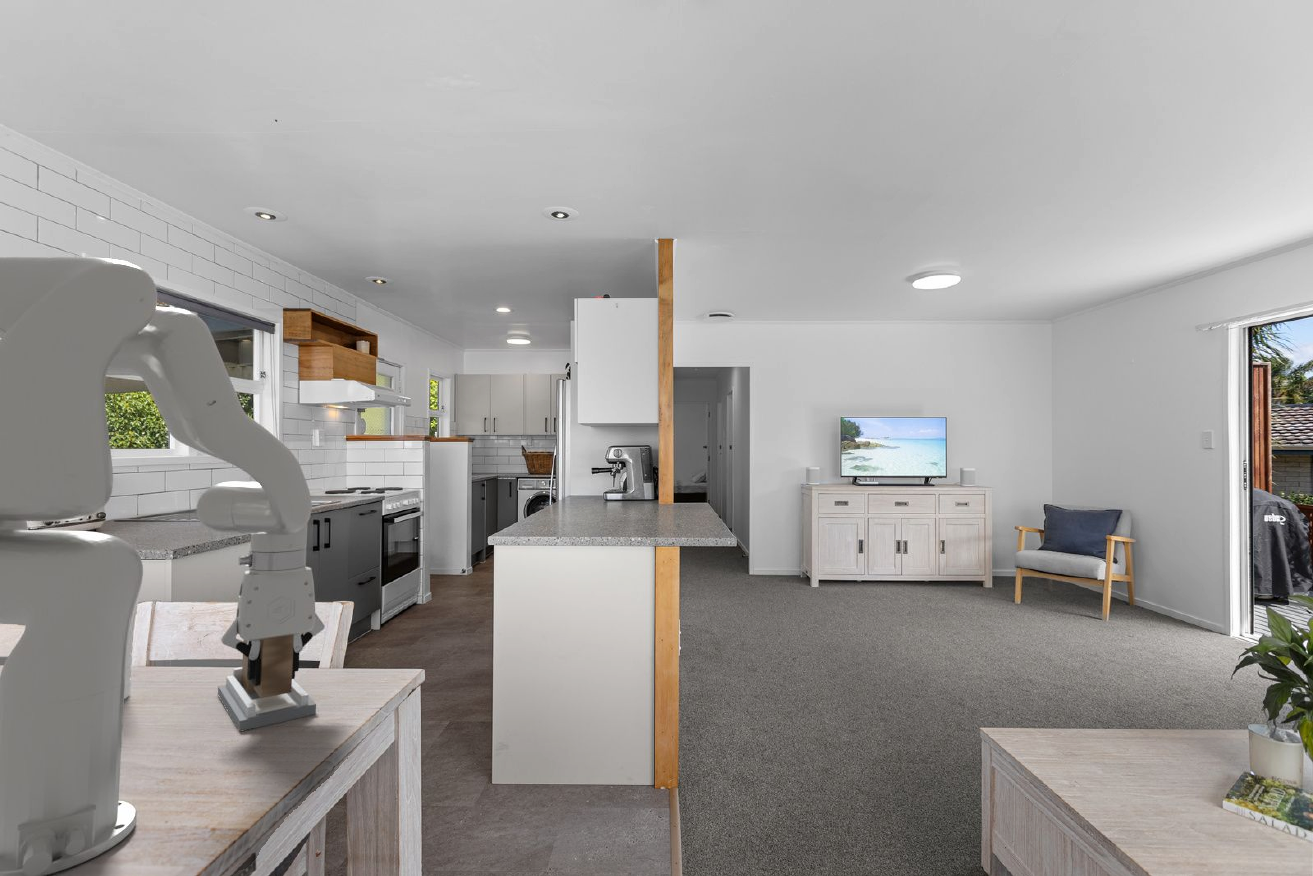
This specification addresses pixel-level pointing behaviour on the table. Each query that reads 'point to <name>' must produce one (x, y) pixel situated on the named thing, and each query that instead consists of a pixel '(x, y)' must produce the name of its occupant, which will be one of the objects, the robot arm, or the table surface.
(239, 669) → the frame
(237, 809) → the table surface
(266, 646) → the walnut finger
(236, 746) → the table surface
